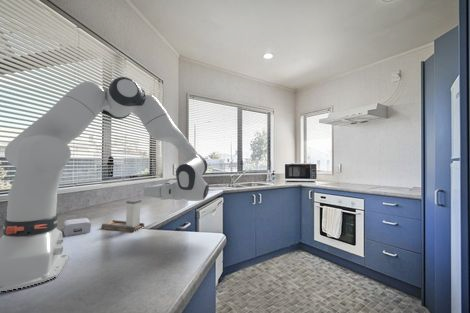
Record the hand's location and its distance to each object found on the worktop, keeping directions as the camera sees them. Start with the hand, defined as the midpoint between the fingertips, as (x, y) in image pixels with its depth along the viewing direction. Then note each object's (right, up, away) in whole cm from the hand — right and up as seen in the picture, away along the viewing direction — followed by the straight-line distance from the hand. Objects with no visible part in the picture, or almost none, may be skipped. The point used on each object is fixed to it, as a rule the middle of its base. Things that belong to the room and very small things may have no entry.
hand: (146, 188), depth 104 cm
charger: (-31, -19, -3) cm, 36 cm away
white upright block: (-7, -18, +1) cm, 19 cm away
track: (-12, -19, +2) cm, 23 cm away
